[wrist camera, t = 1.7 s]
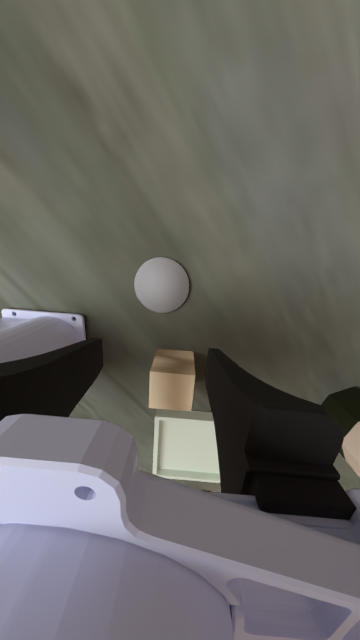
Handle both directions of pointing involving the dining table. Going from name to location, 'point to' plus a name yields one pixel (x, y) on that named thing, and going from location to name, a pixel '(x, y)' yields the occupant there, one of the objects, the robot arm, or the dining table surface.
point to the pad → (161, 285)
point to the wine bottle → (347, 422)
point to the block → (172, 380)
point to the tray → (185, 446)
